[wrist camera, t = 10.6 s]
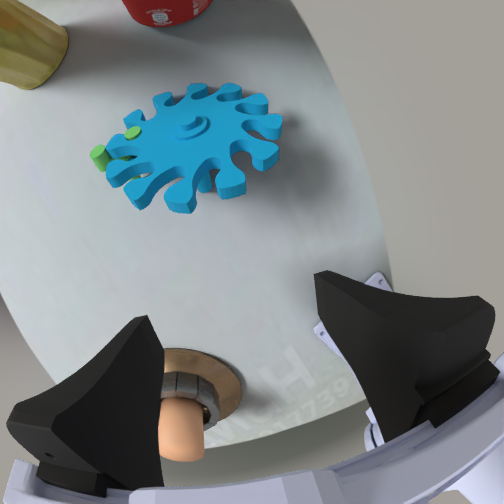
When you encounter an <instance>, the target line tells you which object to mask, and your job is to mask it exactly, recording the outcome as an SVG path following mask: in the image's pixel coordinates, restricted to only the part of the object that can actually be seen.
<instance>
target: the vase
mask: <svg viewBox="0 0 504 504" xmlns="http://www.w3.org/2000/svg"><path fill="white" fill-rule="evenodd" d="M67 47H68V35H67V32H66V30H65V28H63V27H61V26H59V25H57V24H55V23H54V22H52V21H51V20H49V19H48V18H46V17H45V16H43V15H41V14H40V13H38V12H36V11H35V10H33V9H31V8H29V7H28V6H26V5H24V4H22V3H21V2H19V1H17V0H0V81H1V82H5V83H9V84H12V85H14V86H16V87H18V88H20V89H24V90H29V89H32V88H35V87H37V86H39V85H41V84H42V83H43V82H45V81H46V80H47V79H48V78H49V77H50V76H51V75H52V74H53V73H54V72H55V70H56V69H57V68H58V66H59V65H60V63H61V61H62V60H63V58H64V56H65V53H66V50H67Z"/></svg>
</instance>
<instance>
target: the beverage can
mask: <svg viewBox="0 0 504 504" xmlns="http://www.w3.org/2000/svg"><path fill="white" fill-rule="evenodd" d="M122 1H123V3H124V5H125V7H126V8H127V10H128V12H129V13H130V15H131V16H132V18H133V19H134V20H135V21H137V22H138V23H140V24H143V25H146V26H150V27H169V26H174V25H178V24H181V23H184V22H187V21H189V20H191V19H193V18H195V17H196V16H198V15H200V14H201V13H202V12H203V11H204V10H206V8H207V7H208V6H209V5H210V3H211V2H212V0H122Z"/></svg>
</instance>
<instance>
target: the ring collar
mask: <svg viewBox="0 0 504 504" xmlns="http://www.w3.org/2000/svg"><path fill="white" fill-rule="evenodd" d="M164 351H165V371H164V378H163V385H162V392H161V399H160V406H159V416H158V426H159V419H160V410H161V401H162V398H167V397H174V396H179V397H184V398H190V399H195V400H196V401H198V402H200V403H202V404H203V431H205V430H207V429H209V428H211V427H213V426H215V425H216V424H217V422H218V421H220V420H222V419H224V418H226V417H228V416H229V415H230V414H231V413H233V412H234V411H235V409H236V408H237V407H238V405H239V403H240V401H241V396H242V391H241V385H240V381H239V379H238V377H237V375H236V374H235V373H234V371H233V370H232V369H231V368H230V367H229V366H227V365H226V364H225V363H224V362H222V361H220V360H219V359H217V358H215V357H213V356H210V355H208V354H205V353H202V352H198V351H194V350H189V349H181V348H165V349H164Z"/></svg>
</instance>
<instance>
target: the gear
mask: <svg viewBox="0 0 504 504" xmlns="http://www.w3.org/2000/svg"><path fill="white" fill-rule="evenodd" d="M153 103H154V106H155V109H156V111H157V114H156V116H155V117H154V118H152V119H150V120H148V121H146V120H145V117H144V114H143V112H142V110H136V111H134V112H132V113H131V114H129V115H128V116H127V117H125V118H124V119H123V121H124V123H125V125H126V127H127V129H128V130H127V131H126V132H125V134H124V135H123V134H116V135H114V136H113V137H112V138H111V140H110V141H109V142H108V144H107V146H106V148H105V146H104V145H98V146H96V147H95V148H94V149H93V150H92V151H91V152H90V157H91V159H92V160H93V162H94V163H95V165H96V166H97V168H98V169H99V171H101V172H104V171H106V179H107V180H108V181H109V183H110V184H111V186H112V187H113V188H117V187H120V186H122V185H123V184H124V183H126V182H127V181H128V180H130V182H128V183H127V184H126V185H125V187H124V188H123V189H124V192H125V194H126V195H127V197H128V198H129V199H130V201H131V202H132V204H133V205H134V206H135V207H136V208H138V209H139V210H142V209H144V208H146V207H147V206H148V205H149V204H150V203H151V201H152V199H153V197H154V195H155V194H156V193H157V192H158V190H159V189H160V188H162V187H163V186H164V185H165V184H167V183H169V182H170V181H172V180H174V179H176V178H178V177H184V178H183V179H182V180H181V181H179V182H177V183H175V184H173V185H172V186H170V187H169V188H168V189H167V190H166V192H165V194H164V200H165V202H166V204H167V206H168V208H169V210H171V211H173V212H177V213H186V214H191V213H192V212H193V211H194V210H195V208H196V205H197V201H196V189H197V188H198V191H199V192H201V193H207V192H209V191H210V190H211V189H212V182H211V178H210V174H209V170H211V169H221V170H220V171H219V173H218V174H217V176H216V178H215V183H216V187H217V192H218V195H219V197H220V198H221V199H230V198H234V197H238V196H240V195H243V194H246V181H245V175H244V173H243V172H242V171H241V170H239V169H238V168H237V167H236V166H235V165H234V164H233V162H232V161H231V157H232V155H233V154H234V153H236V152H238V151H246V152H248V153H250V154H251V156H252V164H253V166H254V168H255V169H257V170H259V171H266V170H268V169H269V168H271V167H272V166H273V165H274V164H275V163H276V162H277V161H278V160H279V147H278V146H277V145H276V144H274V143H272V142H269V141H263V140H259V139H257V138H254V137H252V136H251V135H249V134H248V133H247V131H251V130H253V131H257V132H259V133H260V134H261V135H262V136H263V137H265V138H267V139H269V140H278V139H279V138H280V136H281V133H282V116H281V115H278V114H268V99H267V98H266V96H265V95H264V94H261V93H258V94H253V95H251V96H249V97H247V98H244V99H242V88H241V87H240V86H238V85H236V84H233V83H227V84H224V85H223V86H222V87H221V88H220V89H219V90H218V91H217V92H215V93H214V94H212V95H210V96H208V90H207V84H202V83H198V84H190V85H189V86H188V87H187V94H186V96H185V97H184V98H183V99H182V100H181V101H180V102H179V103H177V104H176V105H174V100H173V96H172V93H171V92H166V93H163V94H160V95H157V96H154V97H153ZM245 113H248V114H245ZM250 114H252V115H250ZM266 114H268V115H266ZM150 172H153V173H152V174H151V175H149V176H147V177H144V178H141V177H140V174H144V173H150Z"/></svg>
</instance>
